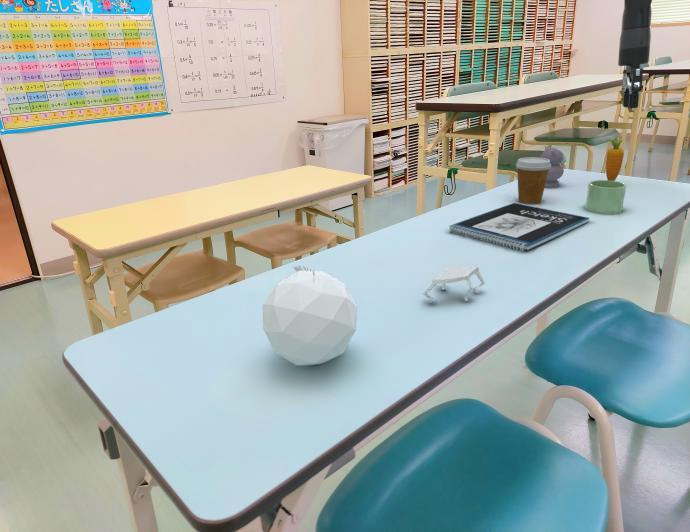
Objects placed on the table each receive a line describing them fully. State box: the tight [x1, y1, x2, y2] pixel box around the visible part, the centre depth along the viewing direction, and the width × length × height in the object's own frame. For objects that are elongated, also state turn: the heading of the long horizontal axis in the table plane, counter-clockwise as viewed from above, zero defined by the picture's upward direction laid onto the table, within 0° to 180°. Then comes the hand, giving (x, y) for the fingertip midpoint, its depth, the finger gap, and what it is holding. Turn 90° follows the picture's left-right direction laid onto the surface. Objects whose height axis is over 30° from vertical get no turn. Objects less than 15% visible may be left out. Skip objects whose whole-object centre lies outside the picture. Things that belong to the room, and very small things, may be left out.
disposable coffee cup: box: [515, 156, 551, 205], centre depth 149 cm, size 10×10×12 cm
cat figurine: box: [540, 145, 565, 189], centre depth 165 cm, size 8×8×12 cm
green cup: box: [585, 179, 627, 215], centre depth 140 cm, size 9×9×7 cm
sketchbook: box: [448, 202, 590, 252], centre depth 130 cm, size 22×30×2 cm
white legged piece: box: [422, 265, 486, 304], centre depth 95 cm, size 12×8×5 cm
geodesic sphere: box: [262, 265, 358, 367], centre depth 77 cm, size 15×14×14 cm
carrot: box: [605, 135, 625, 181], centre depth 163 cm, size 5×5×15 cm
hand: (630, 107), depth 149 cm, fingers open, 8 cm apart
